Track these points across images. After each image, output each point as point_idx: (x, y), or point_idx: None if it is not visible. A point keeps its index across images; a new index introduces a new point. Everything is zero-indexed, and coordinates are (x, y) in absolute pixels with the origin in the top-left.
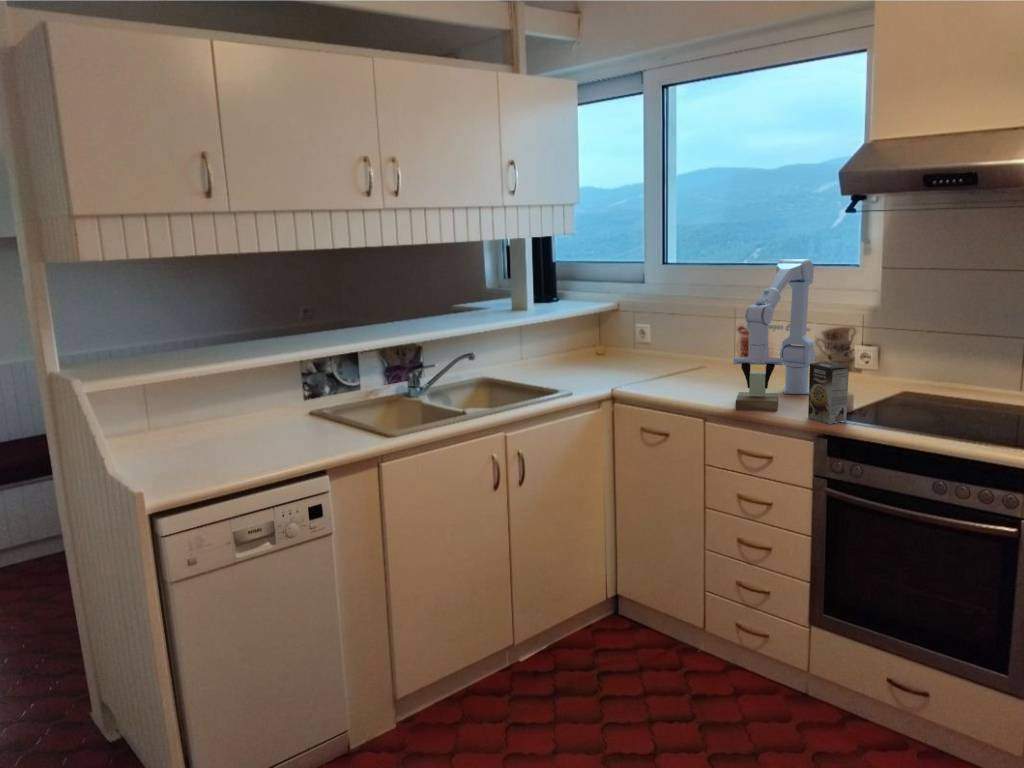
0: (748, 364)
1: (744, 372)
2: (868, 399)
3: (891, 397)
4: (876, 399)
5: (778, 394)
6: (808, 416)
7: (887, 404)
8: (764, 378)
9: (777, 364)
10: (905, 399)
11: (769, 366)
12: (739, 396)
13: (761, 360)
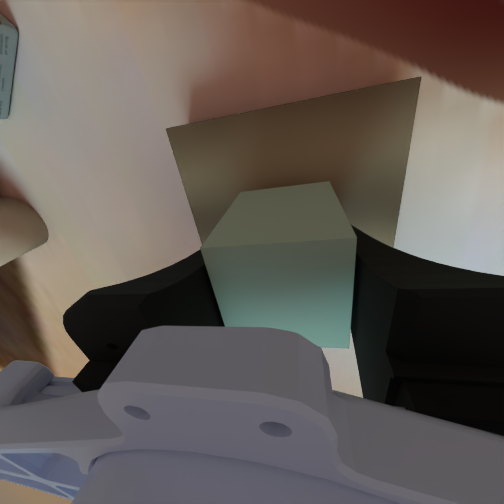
0: (420, 396)
1: (437, 265)
2: (60, 335)
3: (41, 351)
4: (49, 336)
5: None
6: (5, 22)
7: (2, 302)
8: (213, 235)
9: (65, 383)
10: (12, 341)
11: (108, 327)
12: (386, 207)
13: (125, 423)
